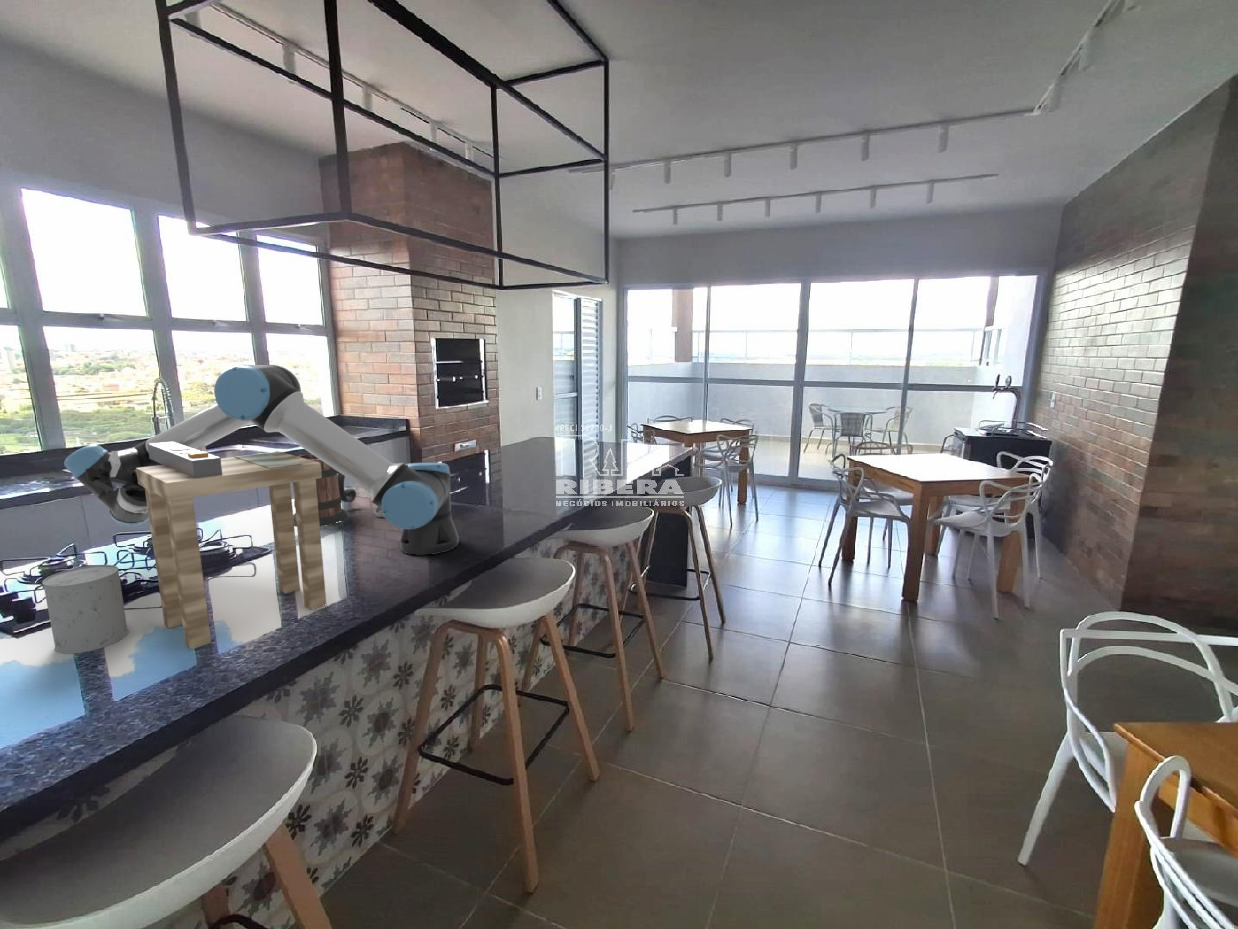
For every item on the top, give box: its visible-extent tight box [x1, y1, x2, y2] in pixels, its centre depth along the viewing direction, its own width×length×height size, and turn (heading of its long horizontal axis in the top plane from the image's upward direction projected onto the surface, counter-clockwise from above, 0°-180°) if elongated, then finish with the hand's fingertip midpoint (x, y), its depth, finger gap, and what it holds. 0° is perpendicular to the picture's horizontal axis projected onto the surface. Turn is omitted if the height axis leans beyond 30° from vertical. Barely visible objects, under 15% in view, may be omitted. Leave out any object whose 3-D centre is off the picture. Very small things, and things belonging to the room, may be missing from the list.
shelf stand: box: [136, 451, 327, 650], centre depth 106 cm, size 18×24×30 cm
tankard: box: [293, 454, 357, 528], centre depth 173 cm, size 24×17×20 cm
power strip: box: [148, 442, 222, 478], centre depth 101 cm, size 26×4×4 cm, turn 53°
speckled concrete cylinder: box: [41, 564, 129, 655], centre depth 97 cm, size 10×10×12 cm
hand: (162, 453), depth 107 cm, fingers open, 13 cm apart
